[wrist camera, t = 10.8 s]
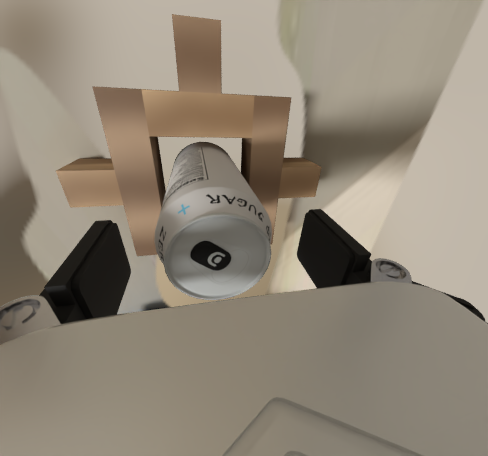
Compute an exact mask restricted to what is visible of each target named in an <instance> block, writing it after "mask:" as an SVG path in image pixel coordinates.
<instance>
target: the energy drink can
mask: <svg viewBox="0 0 488 456" xmlns="http://www.w3.org/2000/svg"><path fill="white" fill-rule="evenodd" d="M271 238H272V226H271V221H270V218H269V215H268V213H267V212H266V210H265V208H264V207H263V205H262V204H261V202H260V201H259V199H258V198H257V196H256V195H255V193H254V192H253V191H252V189H251V188H250V186H249V185H248V183H247V182H246V180H245V179H244V177H243V176H242V174H241V173H240V171H239V170H238V168H237V167H236V165H235V164H234V162H233V161H232V160H231V158H230V157H229V155H228V154H227V153H226V152H225V151H224V150H223V149H222V148H221V147H219V146H217V145H215V144H213V143H209V142H197V143H193V144H190V145H188V146H187V147H185V148H184V149H182V151H181V152H180V153H179V154H178V156H177V157H176V159H175V162H174V166H173V169H172V173H171V176H170V180H169V183H168V187H167V191H166V194H165V197H164V201H163V204H162V208H161V211H160V215H159V218H158V222H157V225H156V229H155V239H154V242H155V247H156V252H157V254H158V256H159V258H160V260H161V262H162V263H163V264H164V267H165V272H166V274H167V276H168V278H169V280H170V281H171V283H172V284H173V285H174V286H175V287H176V288H177V289H179V290H180V291H181V292H183V293H185V294H187V295H189V296H191V297H195V298H198V299H205V300H219V299H226V298H230V297H233V296H236V295H239V294H241V293H243V292H245V291H246V290H248V289H250V288H251V287H252V286H254V285H255V284H256V283H257V282H258V281H259V280H260V279H261V278H262V277H263V275H264V274H265V272H266V270H267V268H268V266H269V263H270V258H271V247H270V244H271Z"/></svg>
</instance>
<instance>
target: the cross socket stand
mask: <svg viewBox="0 0 488 456" xmlns="http://www.w3.org/2000/svg"><path fill="white" fill-rule="evenodd" d="M172 19H173V30H174V41H175V50H176V62H177V73H178V83H179V91H164V90H146V89H127V88H110V87H93V90H94V94H95V98H96V101H97V106H98V110H99V113H100V117H101V121H102V125H103V128H104V132H105V136H106V140H107V144H108V147H109V151H110V155H111V159H78V160H76V161H74V162H72V163H70V164H68V165H66V166H64V167H62V168H60V169H58V170H57V171H56V173H57V175H58V178H59V180H60V183H61V185H62V188H63V190H64V193H65V195H66V198H67V200H68V203H69V205H70V207H90V206H113V205H124V209H125V212H126V216H127V220H128V224H129V228H130V231H131V235H132V239H133V243H134V247H135V250H136V254H137V256H145V255H156V254H157V252H156V247H155V242H154V239H155V229H156V225H157V222H158V218H159V215H160V211H161V208H162V204H163V201H164V197H165V194H166V190H165V184H164V177H163V171H162V164H161V157H160V150H159V144H158V136H159V137H224V138H228V137H229V138H242V158H241V159H242V160H241V174H242V176H243V177H244V179H245V180H246V182H247V183H248V185H249V186H250V188H251V189H252V191H253V192H254V193H255V195H256V196H257V198H258V199H259V201H260V202H261V204H262V205H263V207H264V208H265V210H266V212H267V213H268V215H269V218H270V221H271V226H272V238H271V244H272V242H273V234H274V226H275V219H276V211H277V203H278V198H295V197H315V195H316V190H317V186H318V181H319V177H320V172H321V168H322V167H320V166H318V165H317V164H315V163H313V162H311V161H309V160H307V159H305V158H283V157H284V149H285V142H286V134H287V126H288V119H289V111H290V103H291V98H290V97H272V96H254V95H237V94H222V92H221V20H213V19H205V18H198V17H190V16H181V15H173V14H172Z"/></svg>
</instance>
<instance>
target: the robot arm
mask: <svg viewBox="0 0 488 456" xmlns="http://www.w3.org/2000/svg"><path fill="white" fill-rule="evenodd" d="M370 256H371V253H370V252H368V251H367V250H366V249H365V248H364V247H363V246H362V245H361V244H359V243H358V242H357V241H356V240H355V239H354V238H353V237H352V236H351V235H349V234H348V233H347V232H346V231H345V230H344V229H343V228H342V227H340V226H339V225H338V224H337V223H336V222H335V221H334V220H333V219H331V218H330V217H329V216H328V215H327V214H326V213H325V212H324V211H323V210H321V209H315V210H309V212H308V213H306V214H305V218H304V223H303V228H302V232H301V237H300V241H299V246H298V251H297V257H298V259H299V261H300V262H301V264H302V265H303V267H304V269H305V270H306V272H307V273H308V275H309V276H310V278H311V279H312V281H313V283H314V284H315V286H316V287H317V289H309V290H301V291H293V292H285V293H277V294H270V295H263V296H254V297H246V298H239V299H232V300H223V301H216V302H208V303H201V304H193V305H185V306H178V307H170V308H163V309H155V310H148V311H140V312H133V313H126V314H118V315H117V312H118V309H119V306H120V303H121V300H122V297H123V295H124V292H125V289H126V286H127V283H128V280H129V277H130V274H131V269H130V265H129V262H128V258H127V255H126V252H125V248H124V245H123V242H122V239H121V235H120V232H119V229H118V226H117V224H116V223H113V222H112V221H111V220H105V221H95V222H94V224H93V225H92V226H91V227H90V229H89V230H88V231H87V233H86V234H85V235H84V237H83V238H82V239H81V240H80V242H79V243H78V244H77V246H76V247H75V248H74V249H73V251H72V252H71V253H70V255H69V256H68V257H67V258H66V260H65V261H64V262H63V264H62V265H61V266H60V268H59V269H58V270H57V271H56V273H55V274H54V275H53V277H52V278H51V279H50V280H49V282H48V283H47V284H46V286H45V287H44V288H45V289H44V290H43V291H42V293H41V294H40V295H39V296H38V295H35V296H26V297H22V298H19V299H16V300H13V301H11V302H9V303H7V304H5V305H4V306H1V307H0V456H488V323H487V322H485V318H484V317H483V315H482V314H481V313H480V312H479V311H478V310H477V309H476V308H475V307H474V306H473V305H471V304H470V303H469V302H467V301H465V300H463V299H461V298H457V297H454V296H451V295H449V294H446V293H443V292H440V291H438V290H435V289H432V288H429V287H427V286H424V285H421V284H418V283H416V282H413V281H412V280H411V275H410V273H409V272H408V270H407V269H406V268H404V267H403V266H402V265H400V264H398V263H396V262H394V261H391V260H387V259H381V258H379V259H375V260H373V261H371V260H370V259H369V258H370Z"/></svg>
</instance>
